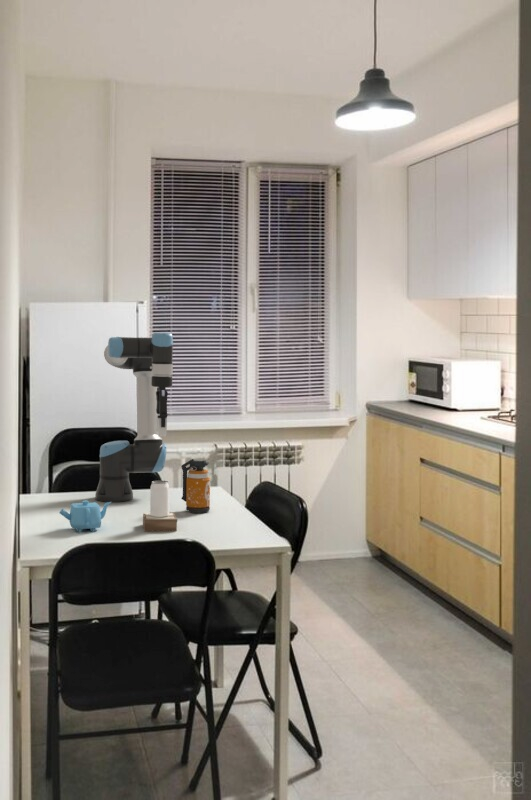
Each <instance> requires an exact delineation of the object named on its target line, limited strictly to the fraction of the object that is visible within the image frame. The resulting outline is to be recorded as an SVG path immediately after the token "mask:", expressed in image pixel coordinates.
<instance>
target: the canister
mask: <svg viewBox="0 0 531 800" xmlns="http://www.w3.org/2000/svg"><path fill="white" fill-rule="evenodd" d="M209 464H210V463H209V462H208V461H207V460H197V459H193V458H192V459H190V460H188V461H186V462H185V463H183V464H181V465H180V466H181V469H182V496H181V498H180V499H181V500H182V501H183V502H186V503H185V505H186V508H185V510H186V511H187V512H190V513H193V514H203V513H207V512H208V511H210V510H211V507H210V505H211V504H210V502H211V495H210V494H211V478H210V475H209V470H208V469H205V468H206V466H208V465H209ZM188 465H189V466H188ZM187 466H188V467H187Z"/></svg>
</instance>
